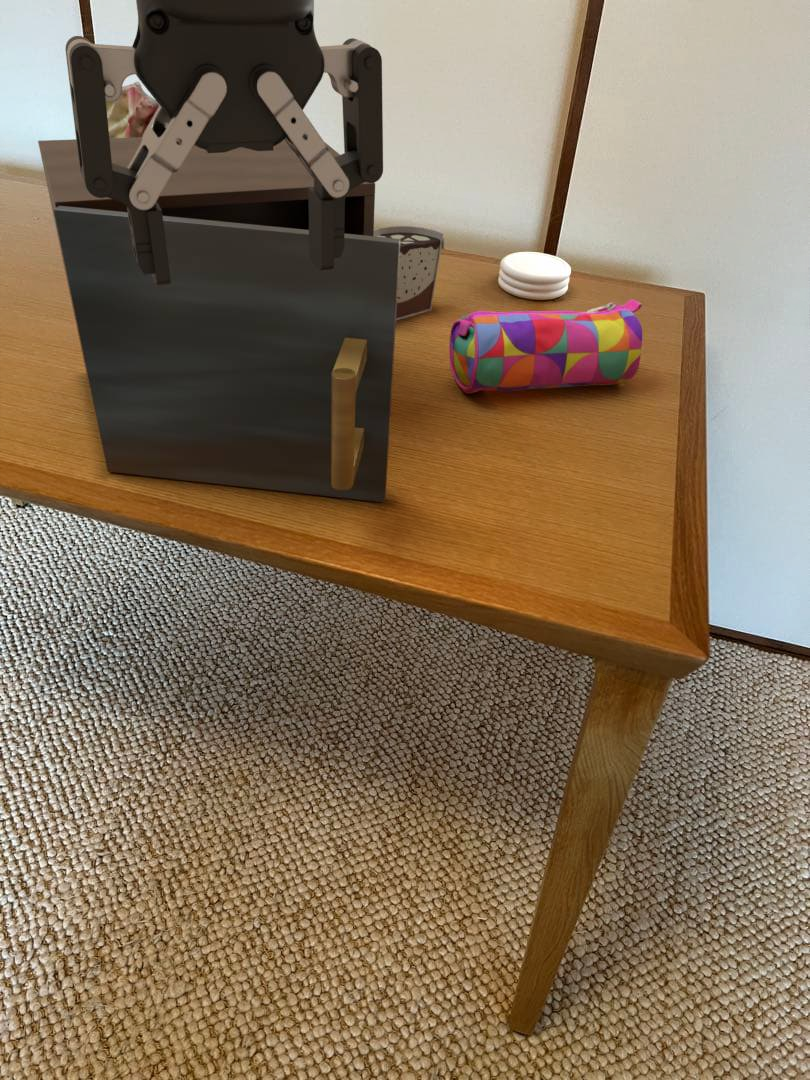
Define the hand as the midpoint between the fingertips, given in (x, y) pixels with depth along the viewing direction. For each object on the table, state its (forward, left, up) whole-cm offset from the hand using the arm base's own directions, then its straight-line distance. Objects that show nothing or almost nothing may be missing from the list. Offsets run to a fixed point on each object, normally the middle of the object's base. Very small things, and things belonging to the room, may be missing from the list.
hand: (244, 272), depth 43 cm
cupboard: (+5, +36, -28) cm, 46 cm away
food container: (+31, +53, -28) cm, 68 cm away
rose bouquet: (+13, +76, -28) cm, 82 cm away
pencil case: (+41, +30, -28) cm, 58 cm away
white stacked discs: (+54, +55, -28) cm, 82 cm away
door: (+2, +17, -28) cm, 33 cm away
